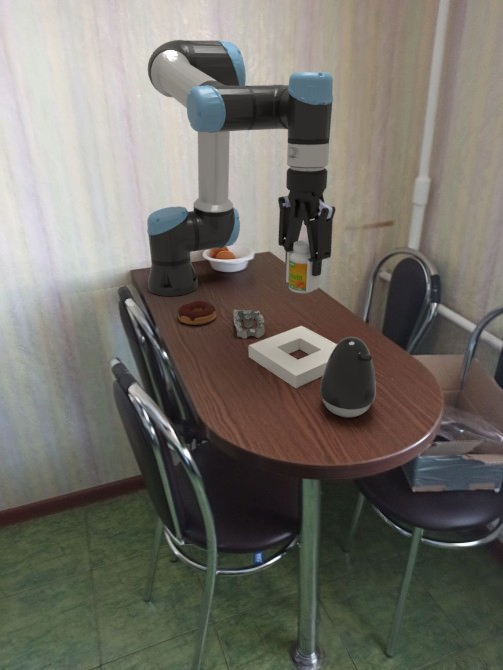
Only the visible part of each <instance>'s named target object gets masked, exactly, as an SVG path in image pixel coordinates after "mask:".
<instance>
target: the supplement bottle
mask: <svg viewBox="0 0 503 670" xmlns="http://www.w3.org/2000/svg"><path fill="white" fill-rule="evenodd" d="M293 250H294V251H295V252H293V253H292V254H291V255H290V264H289V283H288V289H289V290H290V291H291V292H294V293H297V294H309V293H311V292H313V291H310V292H308V291H306V279H307V260H308V259H309V258H311V256H310V249H309V242H308V240H304V239H303V240H298V241H296V242H294V246H293Z"/></svg>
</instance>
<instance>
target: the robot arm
mask: <svg viewBox="0 0 503 670" xmlns="http://www.w3.org/2000/svg"><path fill="white" fill-rule="evenodd" d="M244 61H245V60H244V57H243V55H242V53H241V50H240V48H239V47H238V46H237V45H236V44H235V43H233V42H231V41H224V40H219V39H218V40H190V39H189V40H187V39H186V40H184V39H175V40H169V41H167V42H165V43H163V44H161V45H160V46H158V47H157V48H156V49H155V50H154V51H153V52H152V53H151V55H150V57H149V60H148V63H147V75H148V79H149V81H150V83H151V85H152V86H153V88H154V89H155V90H156V91H157V92H159V93H160V94H161V95H163V96H165V97H167V98H173V99H175V101H177V103H180V104H181V105H182V106H183V107H184V108H185V109H186V115H187V119H188V122H189V124H190V127H191V128H192V130H194V131H195V132H197V176H198V177H197V178H198V179H197V180H198V185H197V186H198V197H197V199H196V200H195V201H194V202H193V210H191V211H188V209H187V208H186V207H184V206H180V205H179V206H178V205H177V206H167V207H164V208H161V209H157V210H154V211H152V213H150V214H149V215H148V217H147V221H146V225H147V229H146V230H147V235H148V242H149V251H150V260H151V265H150V266H151V267H150V270H149V275H148V280H147V286H148V287H147V288H148V291H149V292H150V293H152V294H154V295H156V296H163V297H176V296H183V295H187V294H190V293H192V292H194V291H195V290H197V289H198V287H199V280H198V279H199V278H198V276H197V274H196V270H195V268H194V266H193V263H192V259H191V258H192V257H191V253H192V252H201V251H206V250H215V249H223V248H226V247H231V246H232V245H234V244H235V243H236V242H237V240H238V238H239V236H240V230H241V221H240V215H239V212H238V211H239V210H237V208H235V207H234V204H233V202H232V201H231V200H230V199H229V183H230V181H229V177H230V176H229V175H230V174H229V173H230V171H229V169H230V163H229V162H230V138H231V137H230V136H231V135H230V134H231V133H230V132H237V131H240V132H241V131H257V130H258V131H261V130H263V131H264V130H287V154H286V155H287V157H286V164H287V166H288V167H289V168H287V170H286V189H287V190H288V191H289V192H288V195H286V196H283V195H282V196H279V197H278V199H277V201H278V207H279V215H278V216H279V217H278V246H280V247H283V250H284V252H285V258H284V259H285V261H284V262H285V265H286V272H285V273H286V274H285V277H286V278H285V280H286V281H285V282H286V283H288V284H289V264H290V255H291V254H292V253H293V252H295V251H294V250H293V246H294V242H296V241H299V238H300V234H301V230H302V227H303V224H304V226H305V227H306V233H307V241H308V242H309V249H310V256H311V258H309V259H308V260H307V279H306V291H308V292H309V293H311V292H310V291H312V292H313V291H315V290H318V289H319V285H320V284H319V282H320V276H321V274H322V265H323V260H326V259H329V258H331V256H332V241H333V219H334V216H335V213H336V207H335V206H333V205H332V206H330V205H327V204H326V202H325V197H324V193H325V190H326V189H327V185H328V183H327V182H328V170H327V168H325V167H327V166H328V165H329V158H330V157H329V154H330V151H329V150H330V135H331V124H332V123H331V122H332V112H333V102H334V94H333V89H334V88H333V81H334V79H333V76H332V74H331V73H330V72H328V71H299V72H296V71H295V72H292V74H290V77H289V80H288V85H287V84H285V85H284V84H270V85H269V84H268V85H267V84H266V85H265V84H263V85H246V80H247V79H246V78H247V77H246V76H247V75H246V66H245V62H244Z"/></svg>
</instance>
